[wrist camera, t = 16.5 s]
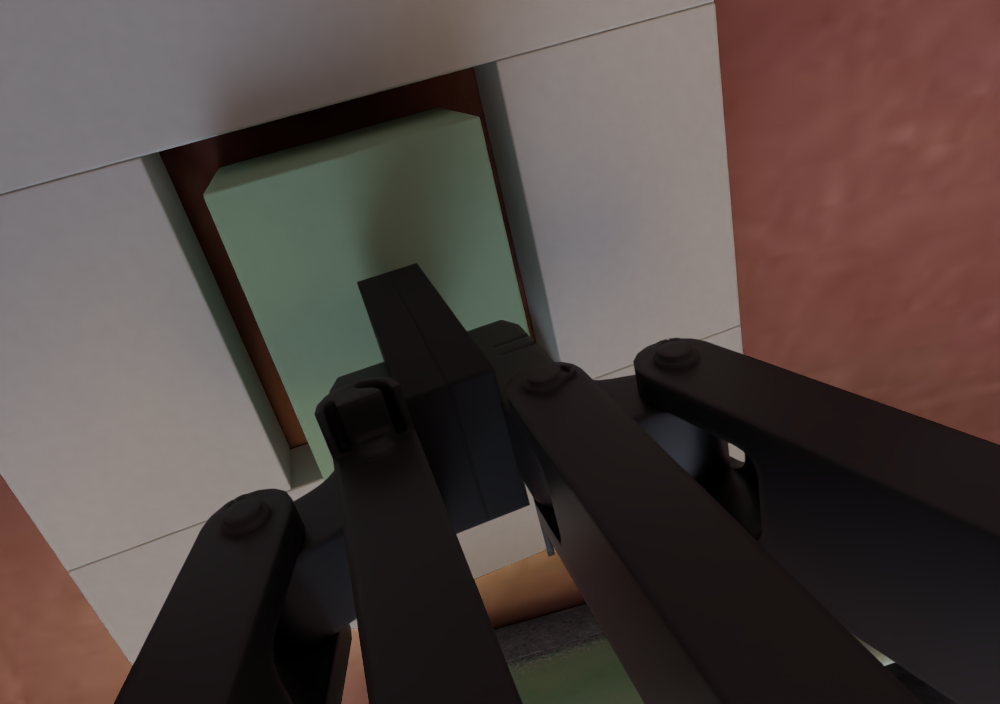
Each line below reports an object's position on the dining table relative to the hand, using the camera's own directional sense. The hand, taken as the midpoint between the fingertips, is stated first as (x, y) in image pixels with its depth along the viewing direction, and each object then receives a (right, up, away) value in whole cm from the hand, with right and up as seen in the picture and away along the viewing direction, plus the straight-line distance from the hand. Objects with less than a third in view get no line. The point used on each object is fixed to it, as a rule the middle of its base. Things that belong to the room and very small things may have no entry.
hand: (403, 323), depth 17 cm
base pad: (-2, +2, +5) cm, 5 cm away
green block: (-2, +2, +5) cm, 5 cm away
